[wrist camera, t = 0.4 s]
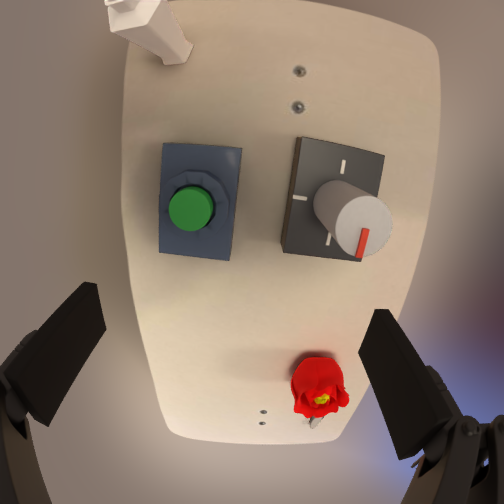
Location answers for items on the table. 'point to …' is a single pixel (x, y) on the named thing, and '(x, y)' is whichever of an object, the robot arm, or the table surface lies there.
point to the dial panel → (310, 180)
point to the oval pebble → (315, 421)
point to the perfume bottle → (150, 28)
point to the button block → (209, 179)
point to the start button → (191, 208)
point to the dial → (353, 217)
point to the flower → (318, 387)
